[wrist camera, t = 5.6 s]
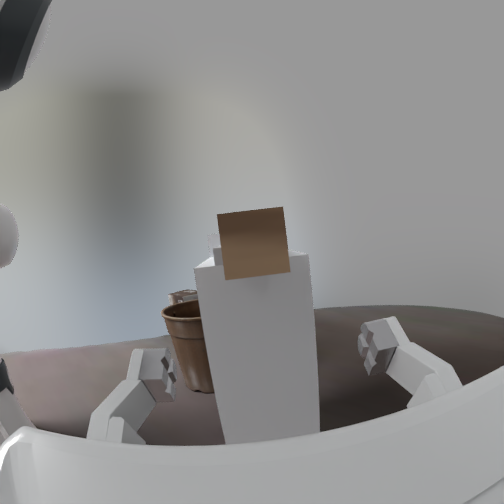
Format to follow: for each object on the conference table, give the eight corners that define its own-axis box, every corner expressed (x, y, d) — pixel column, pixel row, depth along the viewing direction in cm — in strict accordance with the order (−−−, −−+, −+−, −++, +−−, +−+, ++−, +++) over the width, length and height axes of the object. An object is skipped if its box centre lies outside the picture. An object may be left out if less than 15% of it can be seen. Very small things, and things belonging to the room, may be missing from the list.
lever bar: (290, 272, 16) (282, 206, 16) (225, 280, 16) (216, 214, 16) (260, 251, 40) (257, 225, 40) (234, 254, 40) (230, 228, 40)
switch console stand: (324, 471, 28) (309, 219, 26) (235, 484, 27) (189, 233, 26) (301, 409, 43) (284, 225, 41) (236, 418, 43) (208, 235, 41)
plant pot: (269, 381, 55) (260, 302, 54) (193, 408, 47) (174, 323, 46) (231, 358, 69) (221, 293, 68) (167, 376, 61) (152, 307, 60)
